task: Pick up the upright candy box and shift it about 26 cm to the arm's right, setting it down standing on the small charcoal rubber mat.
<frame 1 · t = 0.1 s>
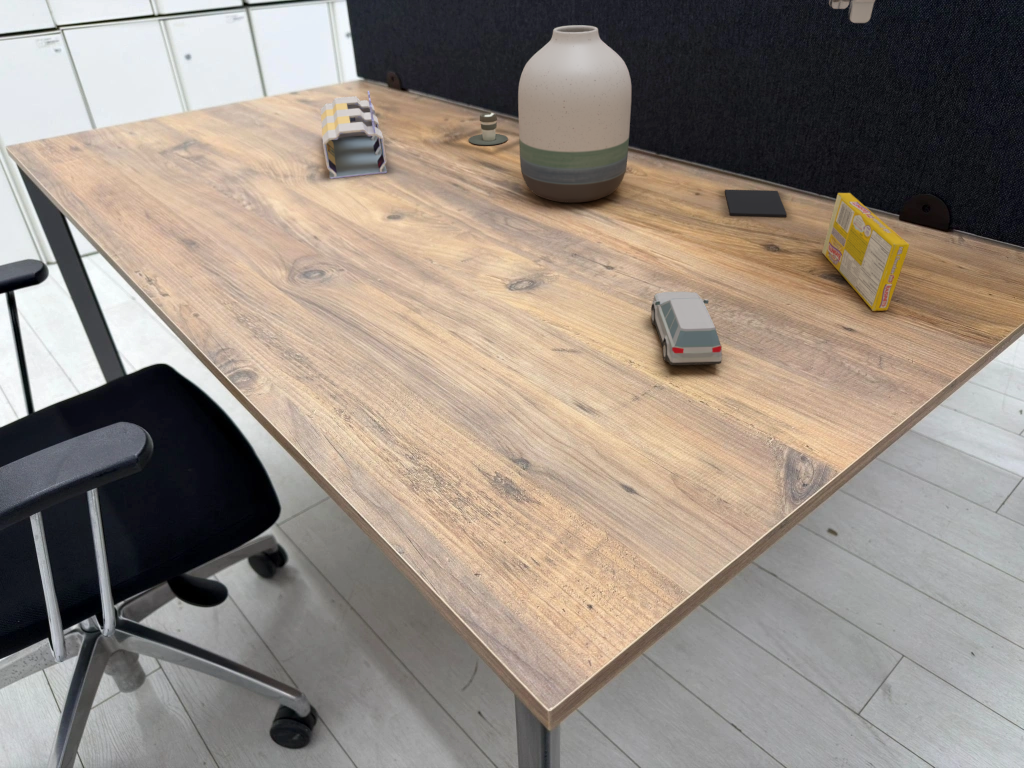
hand: (847, 14, 74), 29 cm above the table, tool pointing down, fingers open, 8 cm apart
mat: (754, 203, 110), on the table
candy box: (852, 281, 88), on the table
toy car: (682, 343, 78), on the table
striped post on disc: (489, 141, 142), on the table
vase: (572, 193, 117), on the table
diorama: (355, 156, 137), on the table
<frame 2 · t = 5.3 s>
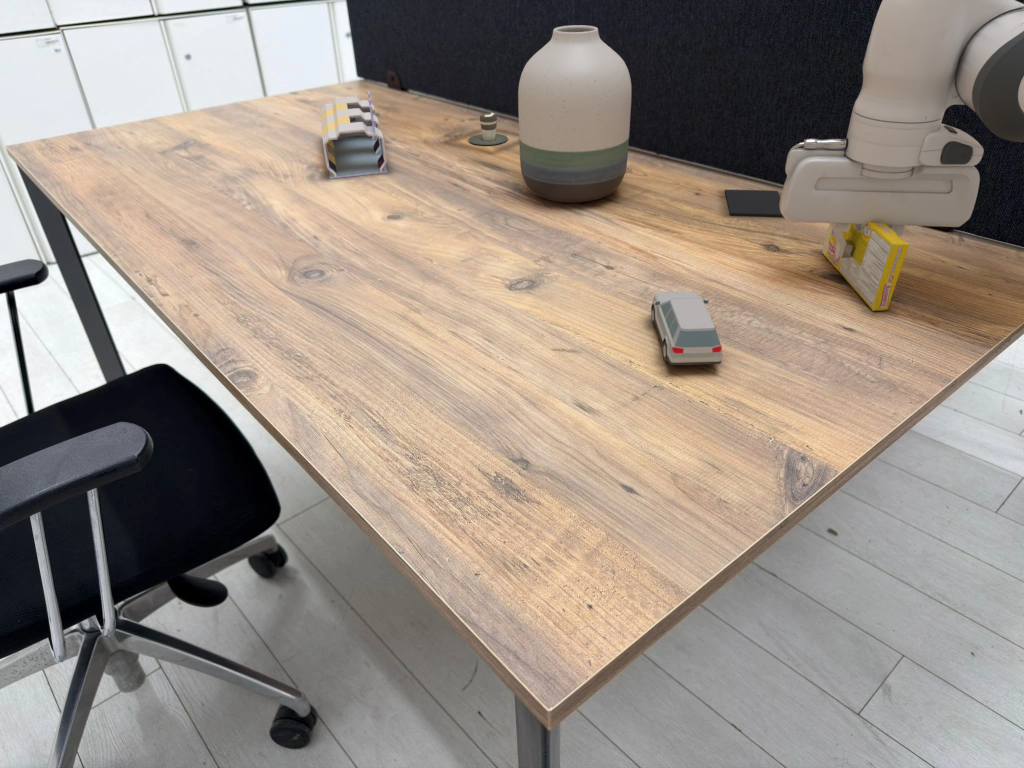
hand: (859, 256, 87), 3 cm above the table, tool pointing down, fingers closed on candy box, 2 cm apart
candy box: (852, 281, 88), on the table, touching gripper
everything else where it was.
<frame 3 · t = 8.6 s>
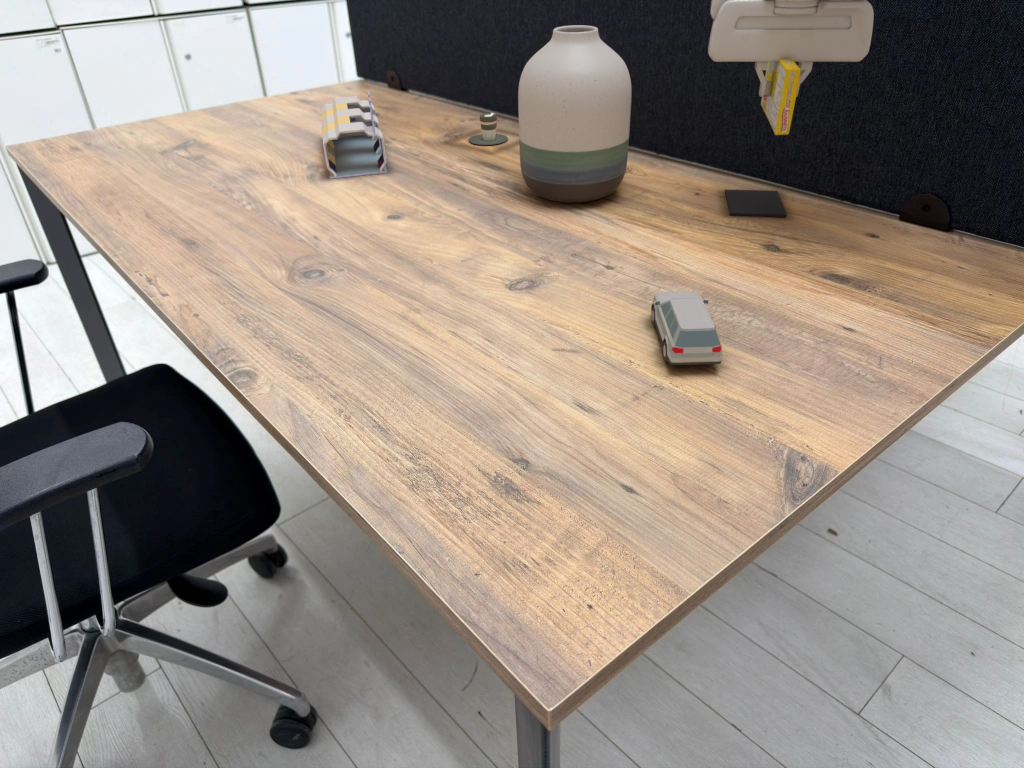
hand: (778, 96, 99), 16 cm above the table, tool pointing down, fingers closed on candy box
candy box: (774, 121, 101), point 13 cm above the table, touching gripper
everything else where it was.
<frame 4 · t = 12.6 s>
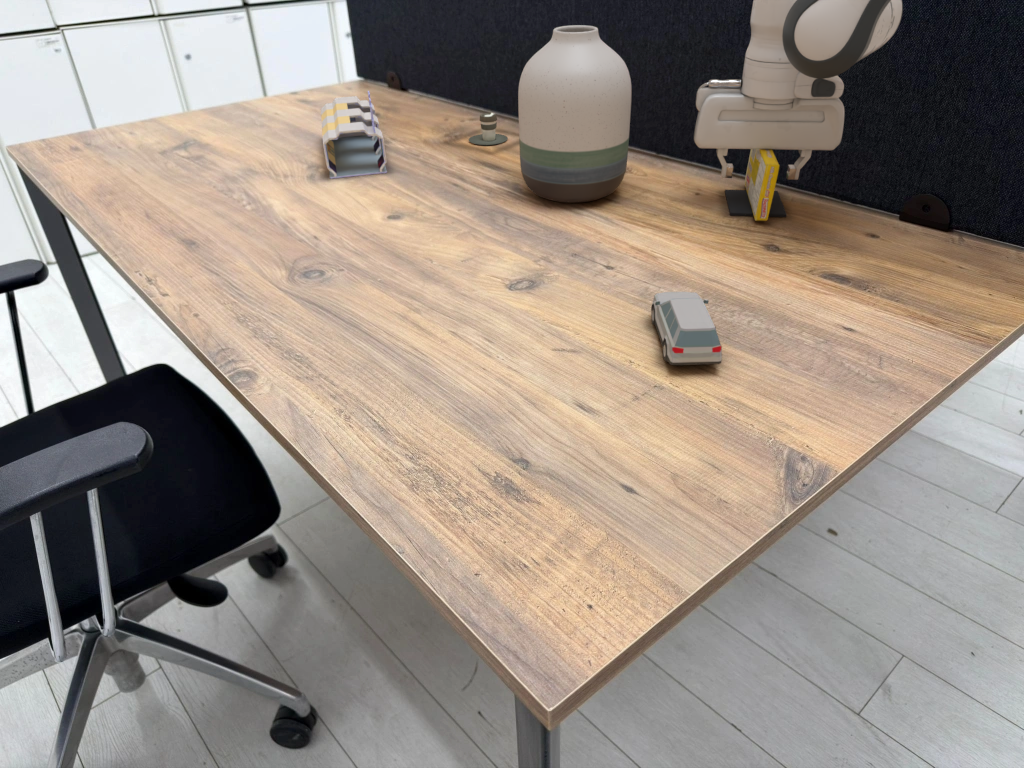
hand: (758, 177, 108), 4 cm above the table, tool pointing down, fingers open, 8 cm apart
candy box: (755, 202, 110), resting on mat
everything else where it was.
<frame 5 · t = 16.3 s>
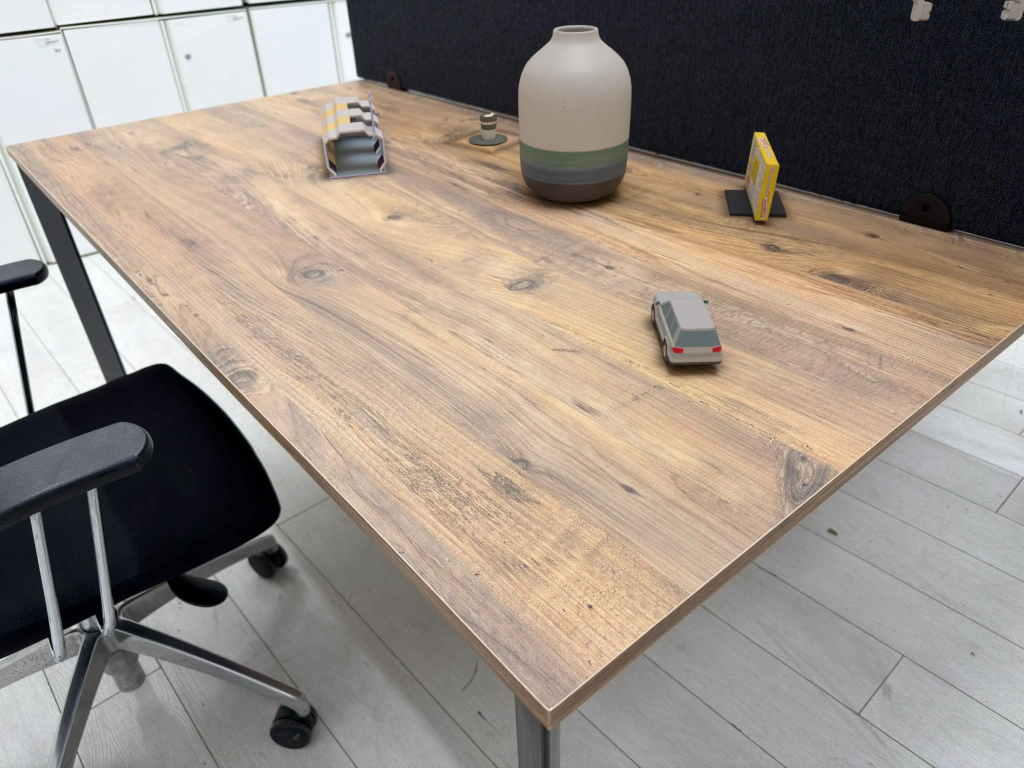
hand: (963, 20, 81), 27 cm above the table, tool pointing down, fingers open, 8 cm apart
nothing on the table moved.
at the end: candy box inside the target area on the mat (0.2 cm from its centre), point 0.2 cm above the mat's base; candy box tilted 0°; candy box moved 26.4 cm from its start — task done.
